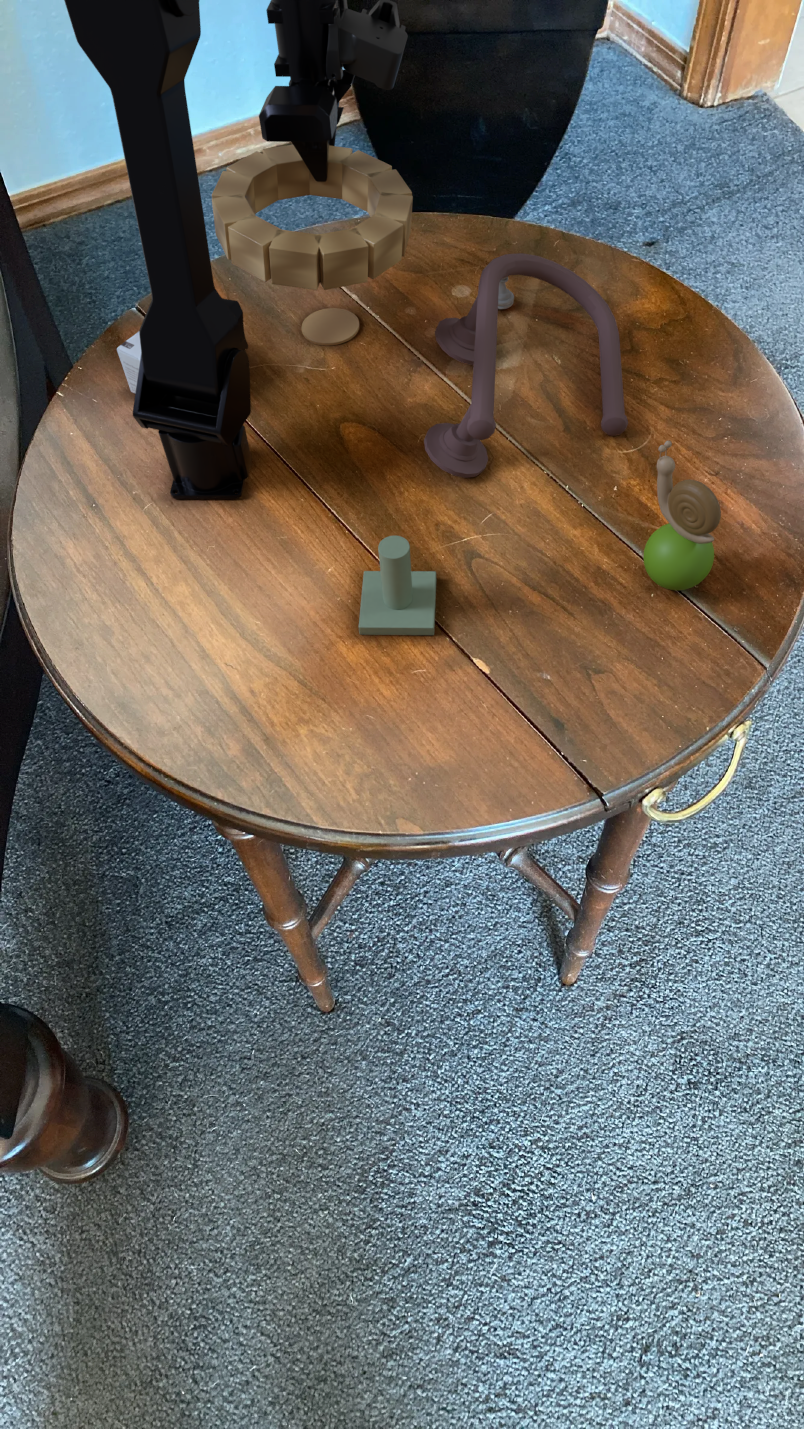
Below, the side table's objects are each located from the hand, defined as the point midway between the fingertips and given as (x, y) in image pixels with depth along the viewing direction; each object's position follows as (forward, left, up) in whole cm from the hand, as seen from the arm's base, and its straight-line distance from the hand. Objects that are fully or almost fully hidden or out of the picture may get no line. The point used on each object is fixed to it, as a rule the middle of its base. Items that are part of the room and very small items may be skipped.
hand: (324, 172), depth 95 cm
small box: (-14, -17, -12) cm, 25 cm away
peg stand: (+9, -45, -12) cm, 47 cm away
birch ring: (-1, -8, -2) cm, 8 cm away
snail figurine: (+31, -42, -12) cm, 53 cm away
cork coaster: (0, -8, -12) cm, 14 cm away
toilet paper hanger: (+20, -18, -12) cm, 29 cm away
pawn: (+32, -15, -12) cm, 37 cm away
